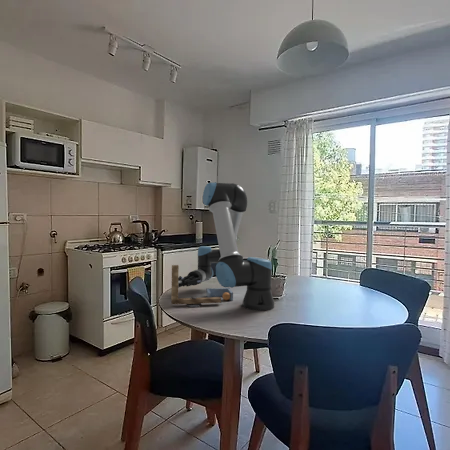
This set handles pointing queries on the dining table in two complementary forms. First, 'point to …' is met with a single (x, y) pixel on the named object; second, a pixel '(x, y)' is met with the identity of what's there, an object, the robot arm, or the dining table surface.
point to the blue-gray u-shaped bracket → (218, 292)
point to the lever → (187, 300)
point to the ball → (226, 296)
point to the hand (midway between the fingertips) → (173, 286)
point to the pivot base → (193, 305)
